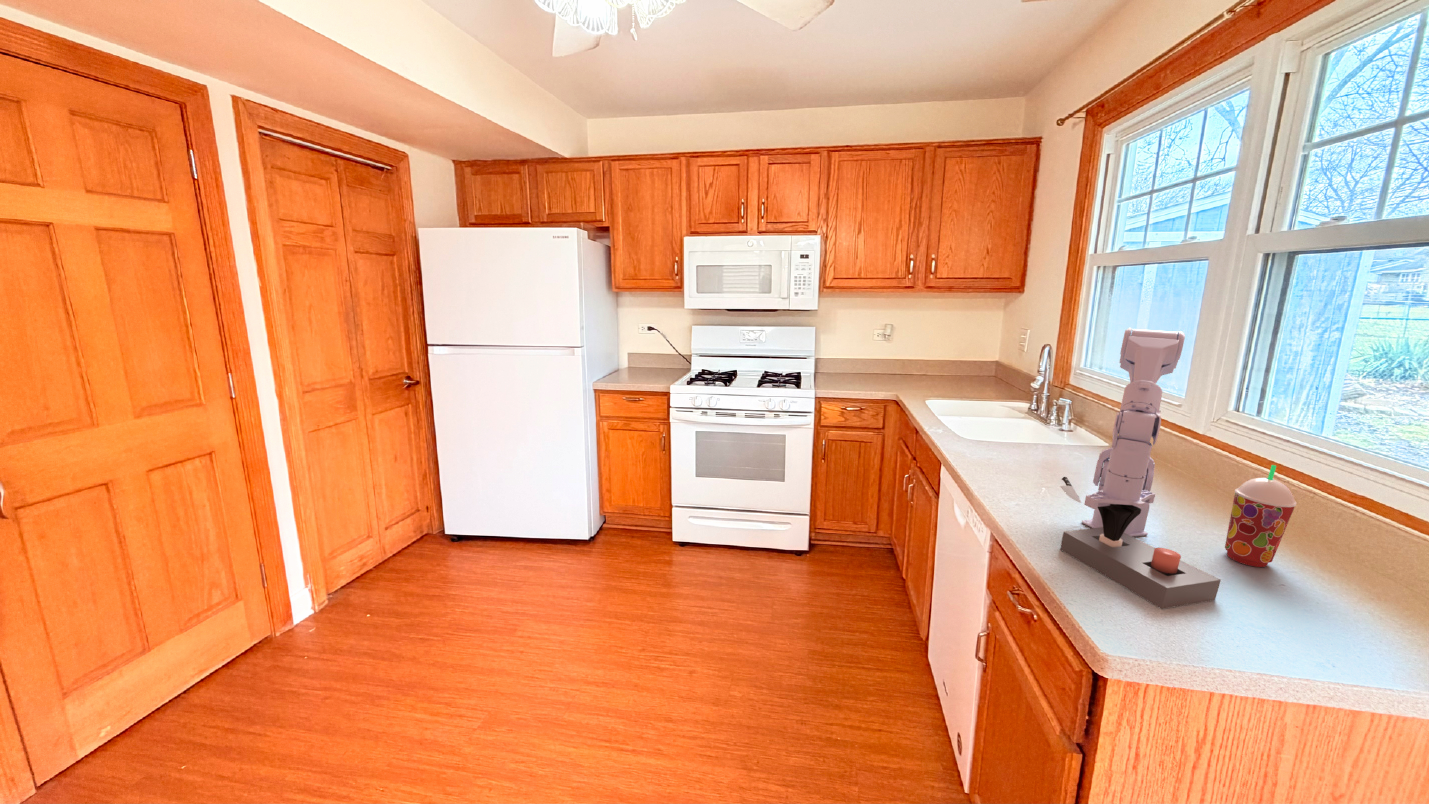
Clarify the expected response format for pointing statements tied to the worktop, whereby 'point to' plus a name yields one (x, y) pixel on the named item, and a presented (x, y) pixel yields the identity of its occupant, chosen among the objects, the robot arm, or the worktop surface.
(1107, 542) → the beige button
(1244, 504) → the smoothie
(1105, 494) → the robot arm
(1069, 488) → the chef's knife
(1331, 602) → the worktop surface
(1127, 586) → the block
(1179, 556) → the red button
